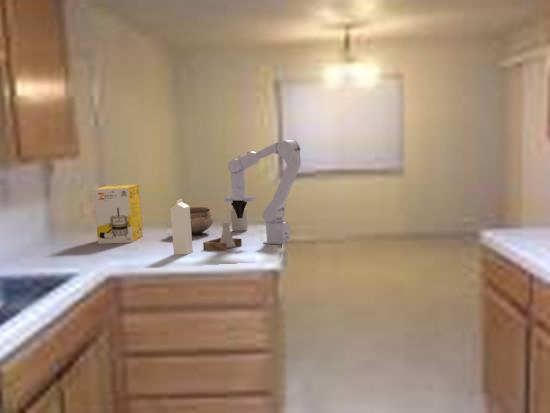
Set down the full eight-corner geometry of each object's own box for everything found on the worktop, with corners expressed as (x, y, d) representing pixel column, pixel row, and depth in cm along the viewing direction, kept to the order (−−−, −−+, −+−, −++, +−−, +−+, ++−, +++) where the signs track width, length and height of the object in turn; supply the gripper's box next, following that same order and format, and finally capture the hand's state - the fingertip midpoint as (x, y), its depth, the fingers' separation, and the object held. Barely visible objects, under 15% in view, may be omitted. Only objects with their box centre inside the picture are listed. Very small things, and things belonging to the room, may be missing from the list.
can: (240, 232, 334) (239, 207, 333) (228, 231, 339) (227, 206, 337) (250, 230, 340) (249, 205, 339) (238, 229, 345) (237, 204, 343)
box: (241, 245, 297) (241, 238, 297) (225, 250, 287) (224, 243, 286) (220, 244, 303) (220, 237, 302) (203, 249, 293) (203, 242, 292)
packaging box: (98, 243, 324) (93, 189, 321) (109, 237, 340) (105, 186, 337) (132, 242, 322) (128, 187, 319) (142, 236, 338) (138, 184, 335)
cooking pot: (181, 230, 350) (180, 206, 349) (219, 229, 347) (217, 204, 346) (166, 239, 325) (164, 213, 324) (206, 238, 323) (205, 211, 321)
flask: (239, 246, 295) (237, 223, 294) (224, 249, 290) (223, 225, 289) (229, 245, 300) (228, 221, 299) (215, 247, 296) (213, 224, 295)
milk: (173, 254, 285) (169, 200, 282) (179, 251, 290) (175, 198, 288) (187, 254, 283) (183, 199, 280) (193, 251, 289) (189, 198, 286)
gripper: (257, 185, 303) (259, 217, 305) (229, 185, 311) (231, 216, 313) (248, 187, 297) (250, 219, 299) (220, 187, 305) (222, 218, 307)
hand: (240, 218), depth 305 cm, fingers closed
